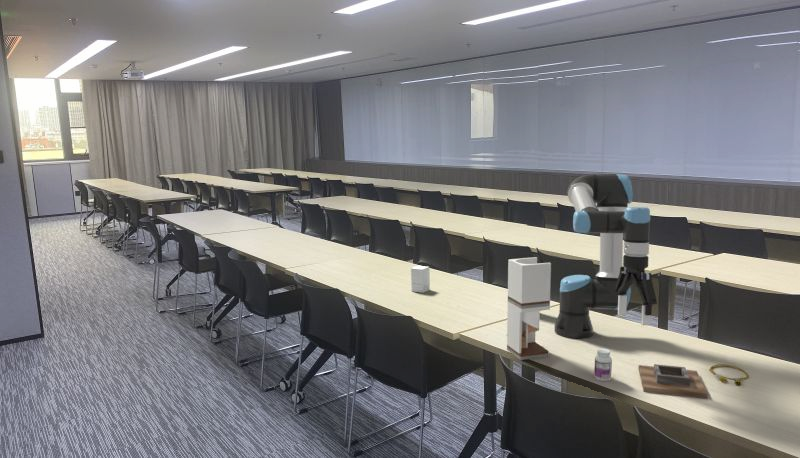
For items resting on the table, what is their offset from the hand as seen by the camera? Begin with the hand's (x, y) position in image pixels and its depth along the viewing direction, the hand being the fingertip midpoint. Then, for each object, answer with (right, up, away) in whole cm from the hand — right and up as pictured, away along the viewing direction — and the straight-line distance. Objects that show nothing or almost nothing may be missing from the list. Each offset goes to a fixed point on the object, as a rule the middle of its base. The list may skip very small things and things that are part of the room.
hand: (633, 319), depth 186 cm
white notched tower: (-29, -17, +27) cm, 43 cm away
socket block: (+12, -21, 0) cm, 24 cm away
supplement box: (-65, -3, +115) cm, 133 cm away
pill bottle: (-9, -20, +4) cm, 22 cm away
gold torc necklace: (+34, -20, +5) cm, 40 cm away
